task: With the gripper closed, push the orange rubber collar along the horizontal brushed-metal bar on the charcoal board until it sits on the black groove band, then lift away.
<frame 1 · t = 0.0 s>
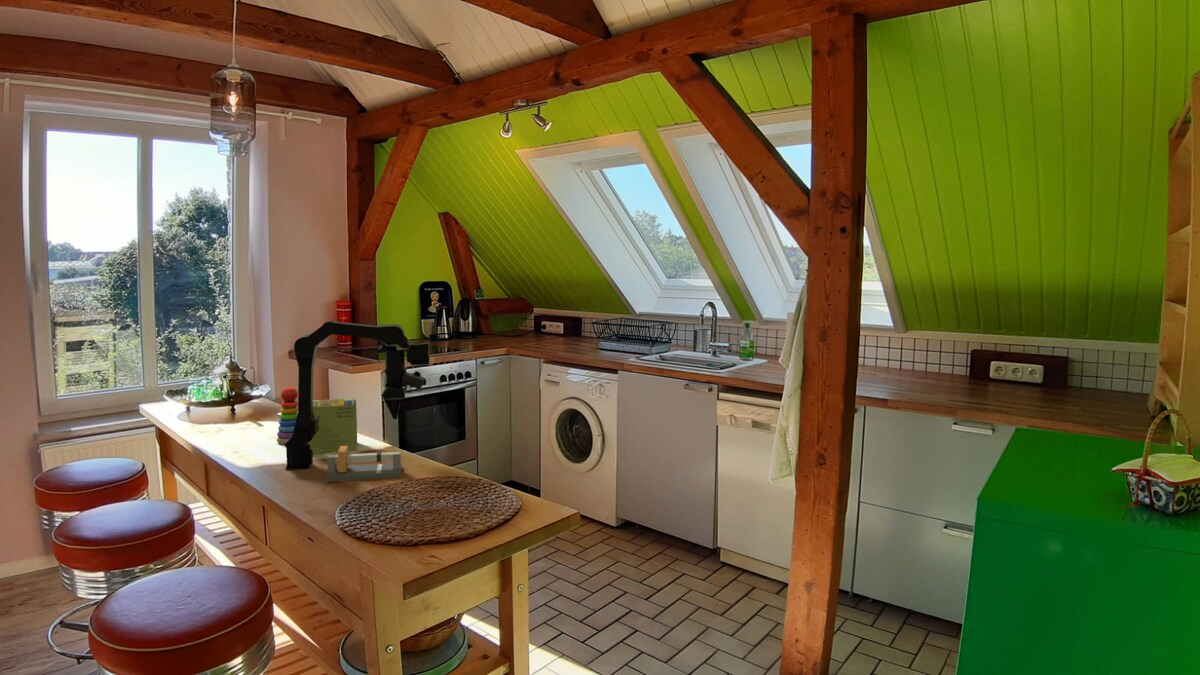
hand: (396, 415, 209), 15 cm above the counter, fingers open, 9 cm apart
collar: (343, 458, 196), point 5 cm above the counter, slide at 0.0 cm
stacking toy: (289, 442, 229), on the counter
protein box: (332, 448, 223), on the counter
pipe rig: (365, 474, 198), on the counter
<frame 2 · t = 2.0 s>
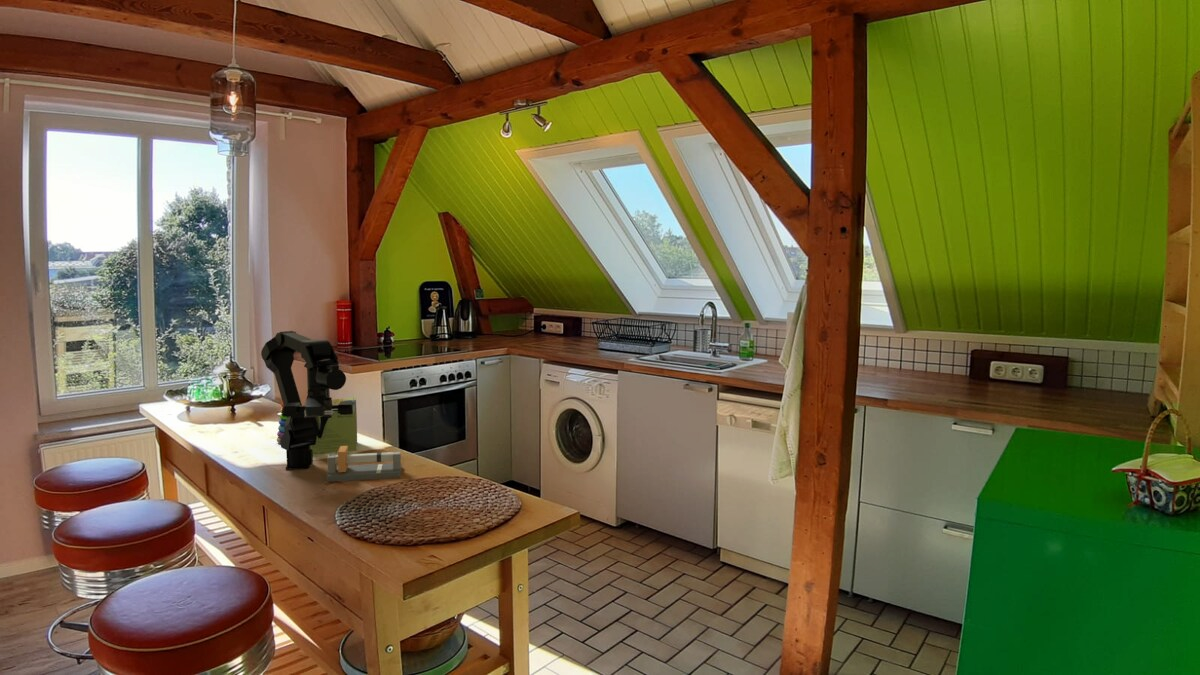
hand: (320, 438, 194), 12 cm above the counter, fingers closed
nothing on the counter moved.
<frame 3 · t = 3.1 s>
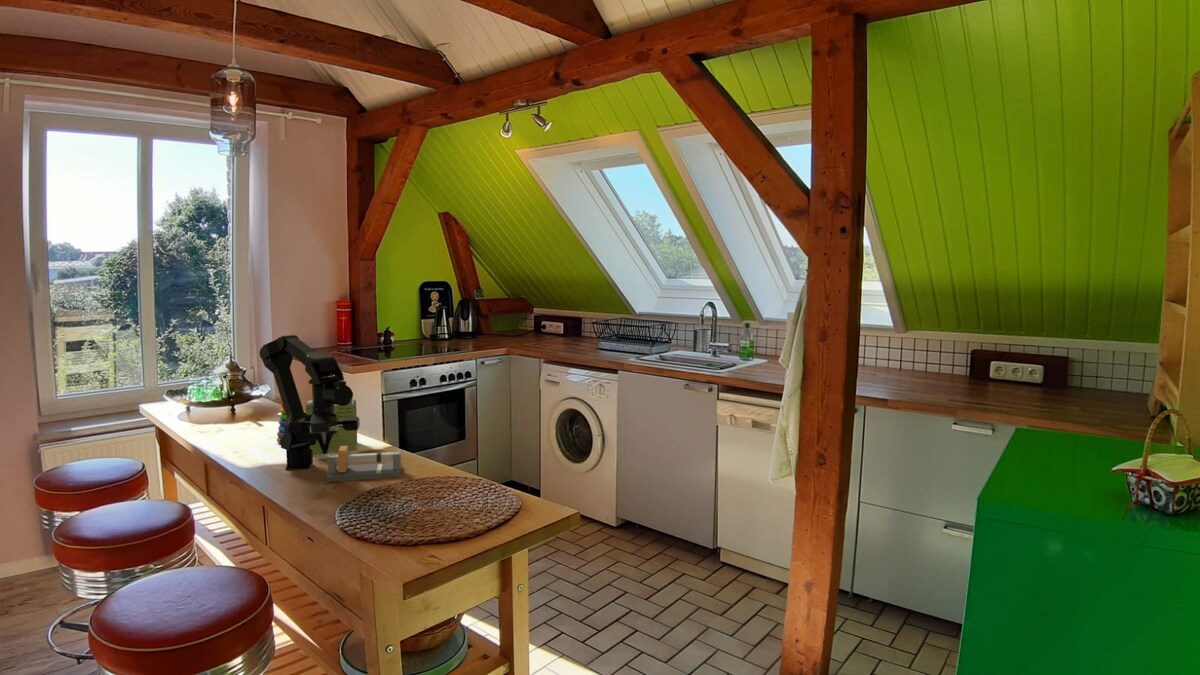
hand: (325, 453, 195), 7 cm above the counter, fingers closed
nothing on the counter moved.
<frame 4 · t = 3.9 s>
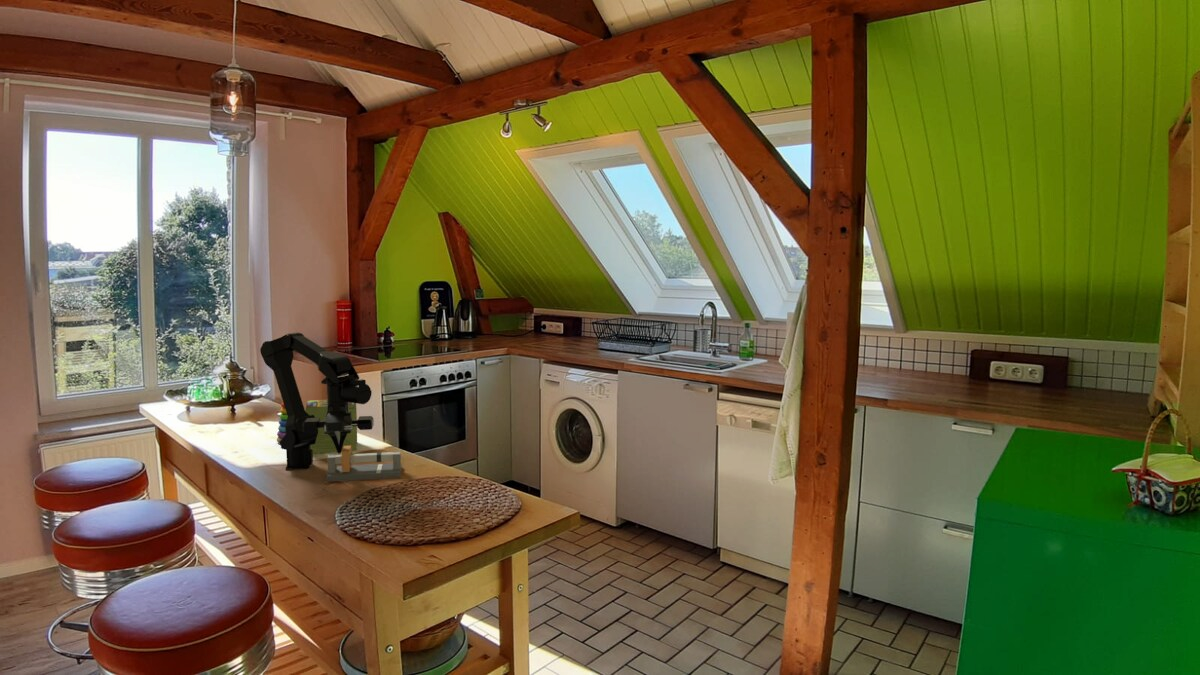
hand: (339, 452, 196), 7 cm above the counter, fingers closed
collar: (346, 458, 196), point 5 cm above the counter, slide at 1.0 cm, touching gripper
everything else where it was.
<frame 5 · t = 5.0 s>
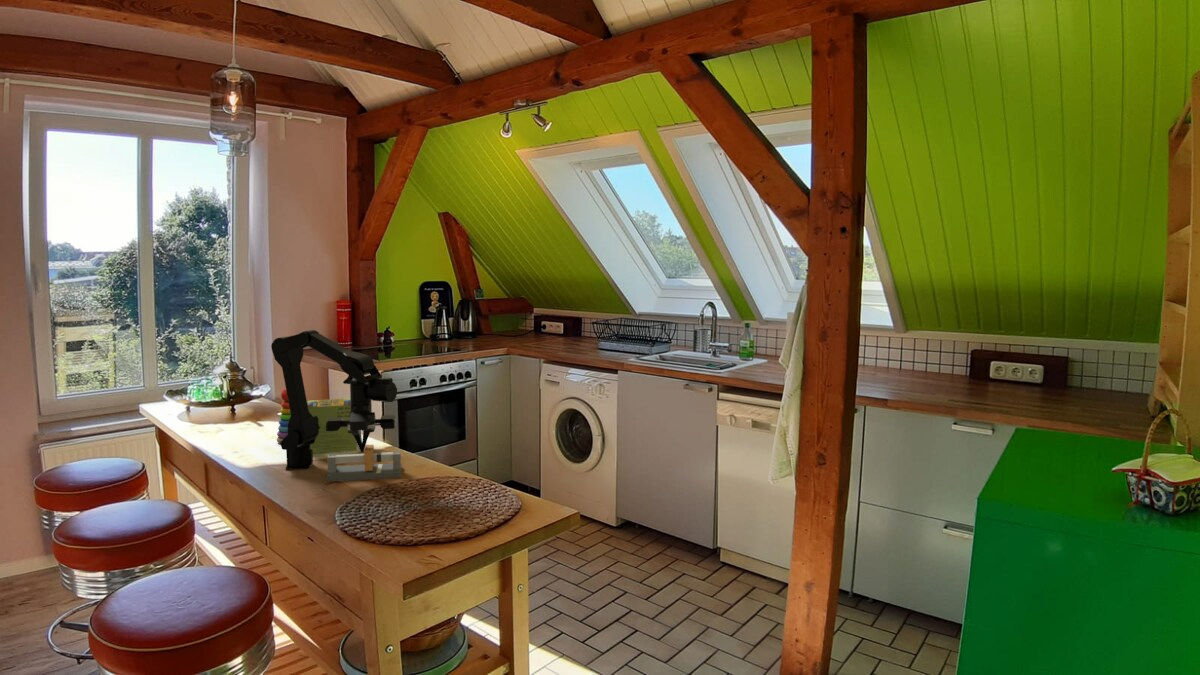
hand: (362, 451, 197), 7 cm above the counter, fingers closed
collar: (369, 457, 198), point 5 cm above the counter, slide at 7.2 cm, touching gripper
everything else where it was.
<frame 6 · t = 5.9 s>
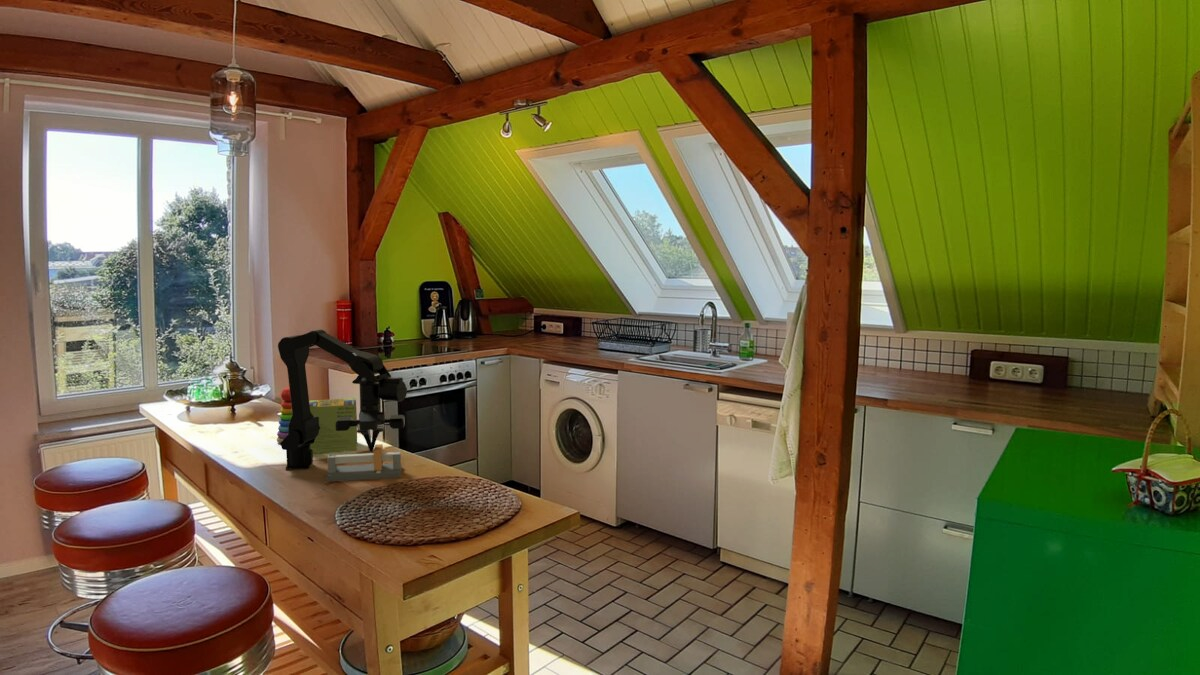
hand: (371, 451, 198), 7 cm above the counter, fingers closed
collar: (378, 457, 198), point 5 cm above the counter, slide at 9.8 cm, touching gripper
everything else where it was.
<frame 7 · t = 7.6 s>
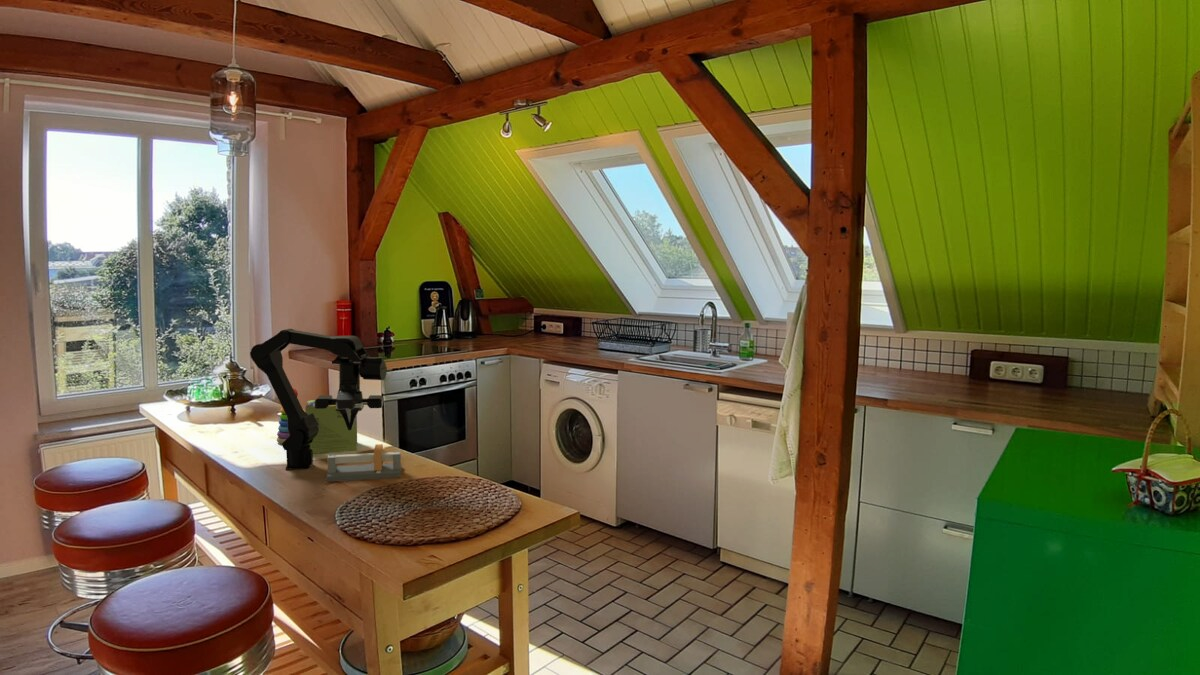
hand: (350, 429, 202), 12 cm above the counter, fingers closed
collar: (378, 457, 199), point 5 cm above the counter, slide at 9.8 cm
everything else where it was.
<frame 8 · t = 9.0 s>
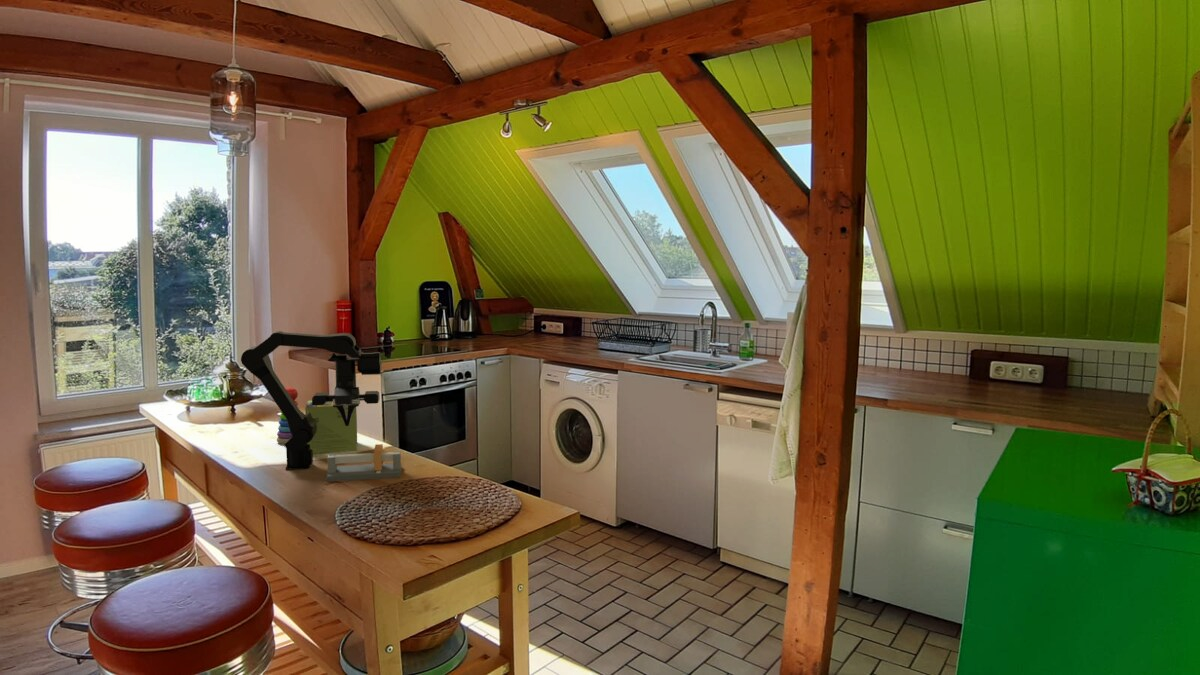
hand: (347, 425, 206), 12 cm above the counter, fingers closed
nothing on the counter moved.
at the end: collar slide at 9.8 cm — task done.
